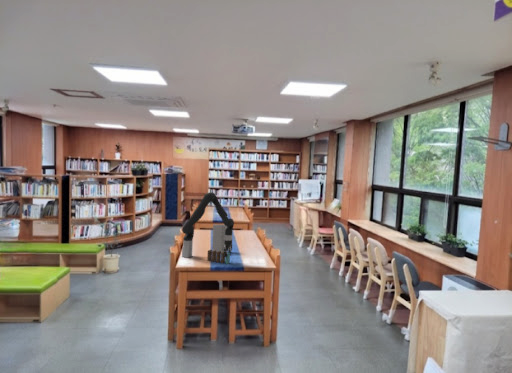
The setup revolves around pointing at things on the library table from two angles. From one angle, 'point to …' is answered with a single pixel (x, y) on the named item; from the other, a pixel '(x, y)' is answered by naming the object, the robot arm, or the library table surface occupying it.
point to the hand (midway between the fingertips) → (227, 256)
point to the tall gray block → (218, 238)
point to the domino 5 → (227, 258)
